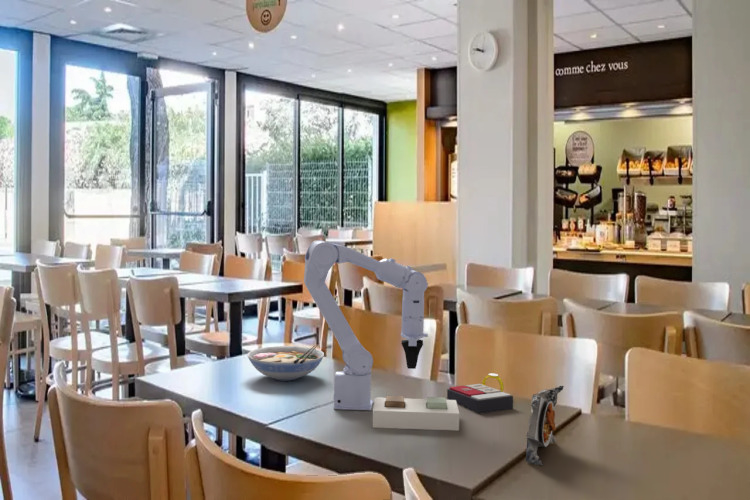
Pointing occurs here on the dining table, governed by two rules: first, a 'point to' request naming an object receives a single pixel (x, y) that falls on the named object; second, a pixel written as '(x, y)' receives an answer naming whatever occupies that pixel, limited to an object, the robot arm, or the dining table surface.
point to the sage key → (436, 403)
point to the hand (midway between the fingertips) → (411, 368)
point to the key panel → (415, 415)
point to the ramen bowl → (285, 361)
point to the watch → (496, 378)
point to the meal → (541, 422)
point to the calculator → (480, 398)
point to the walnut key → (395, 401)
